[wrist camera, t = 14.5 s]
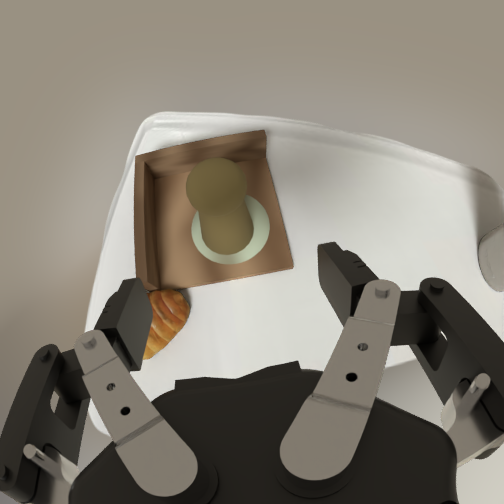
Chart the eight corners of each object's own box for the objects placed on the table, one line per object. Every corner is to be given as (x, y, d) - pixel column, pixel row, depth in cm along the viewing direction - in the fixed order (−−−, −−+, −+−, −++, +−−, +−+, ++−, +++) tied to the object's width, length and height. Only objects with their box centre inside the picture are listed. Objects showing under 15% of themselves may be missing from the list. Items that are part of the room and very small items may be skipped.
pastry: (173, 276, 32) (163, 267, 28) (203, 326, 30) (196, 324, 27) (111, 317, 31) (95, 313, 27) (137, 367, 29) (122, 369, 25)
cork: (200, 256, 32) (173, 211, 21) (201, 207, 34) (179, 150, 23) (255, 253, 32) (253, 205, 21) (252, 204, 34) (249, 144, 23)
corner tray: (263, 154, 37) (264, 129, 32) (292, 268, 32) (298, 254, 27) (148, 177, 36) (135, 156, 32) (153, 293, 31) (136, 283, 26)
